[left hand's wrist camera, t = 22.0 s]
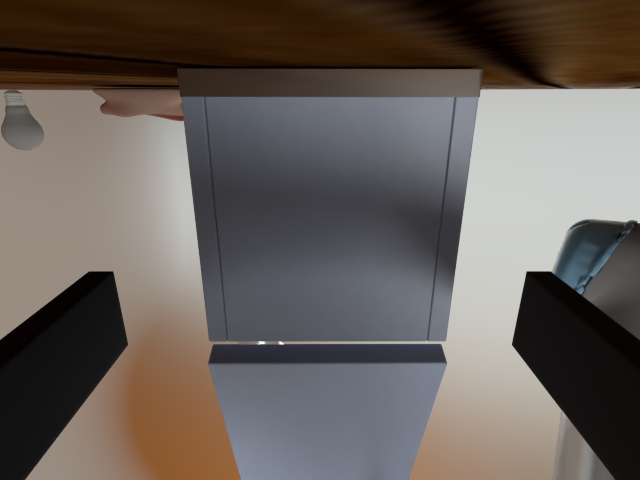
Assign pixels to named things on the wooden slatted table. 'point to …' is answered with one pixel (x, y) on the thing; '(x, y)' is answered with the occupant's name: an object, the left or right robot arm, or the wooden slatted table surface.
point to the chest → (328, 199)
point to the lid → (326, 407)
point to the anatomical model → (142, 102)
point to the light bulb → (20, 124)
